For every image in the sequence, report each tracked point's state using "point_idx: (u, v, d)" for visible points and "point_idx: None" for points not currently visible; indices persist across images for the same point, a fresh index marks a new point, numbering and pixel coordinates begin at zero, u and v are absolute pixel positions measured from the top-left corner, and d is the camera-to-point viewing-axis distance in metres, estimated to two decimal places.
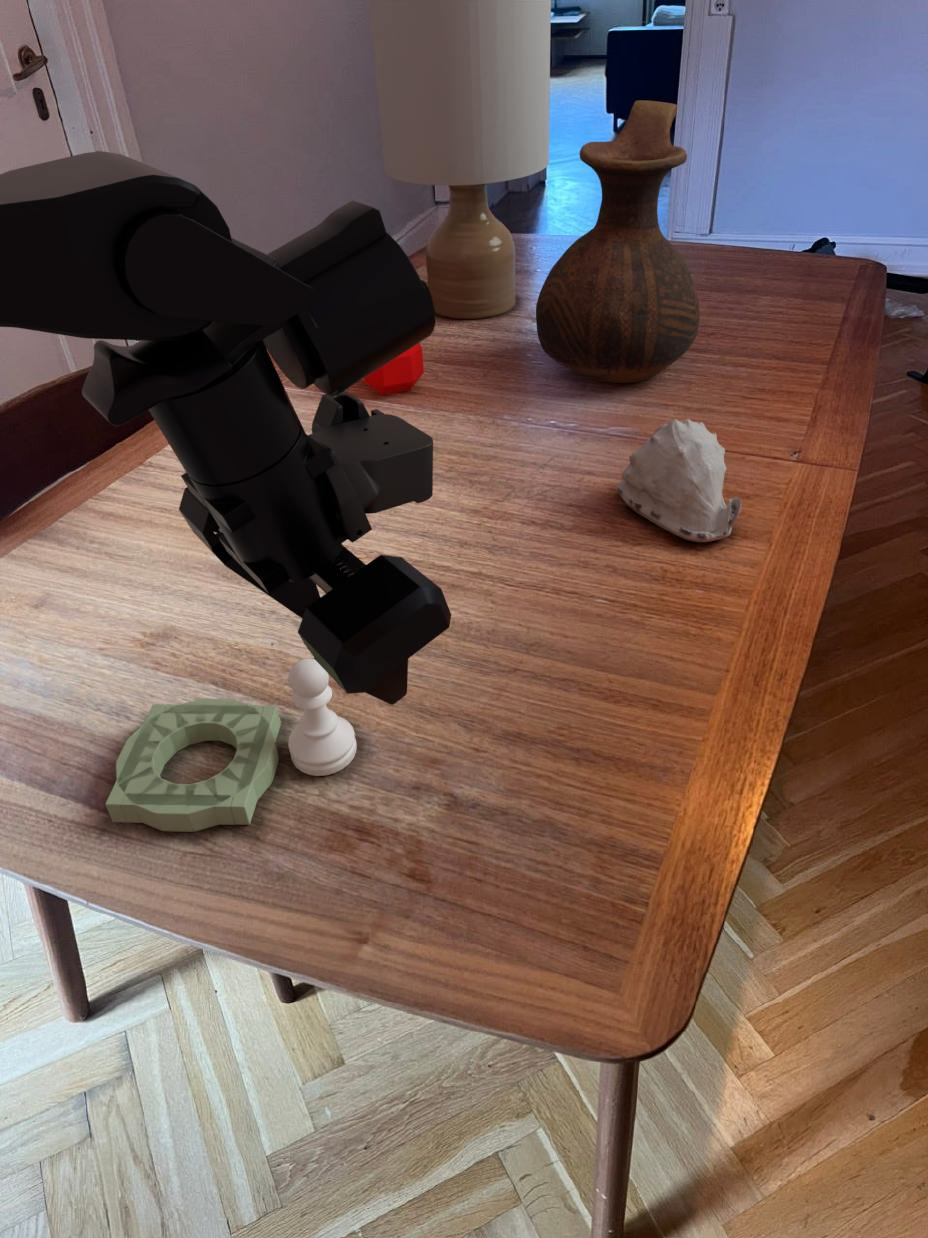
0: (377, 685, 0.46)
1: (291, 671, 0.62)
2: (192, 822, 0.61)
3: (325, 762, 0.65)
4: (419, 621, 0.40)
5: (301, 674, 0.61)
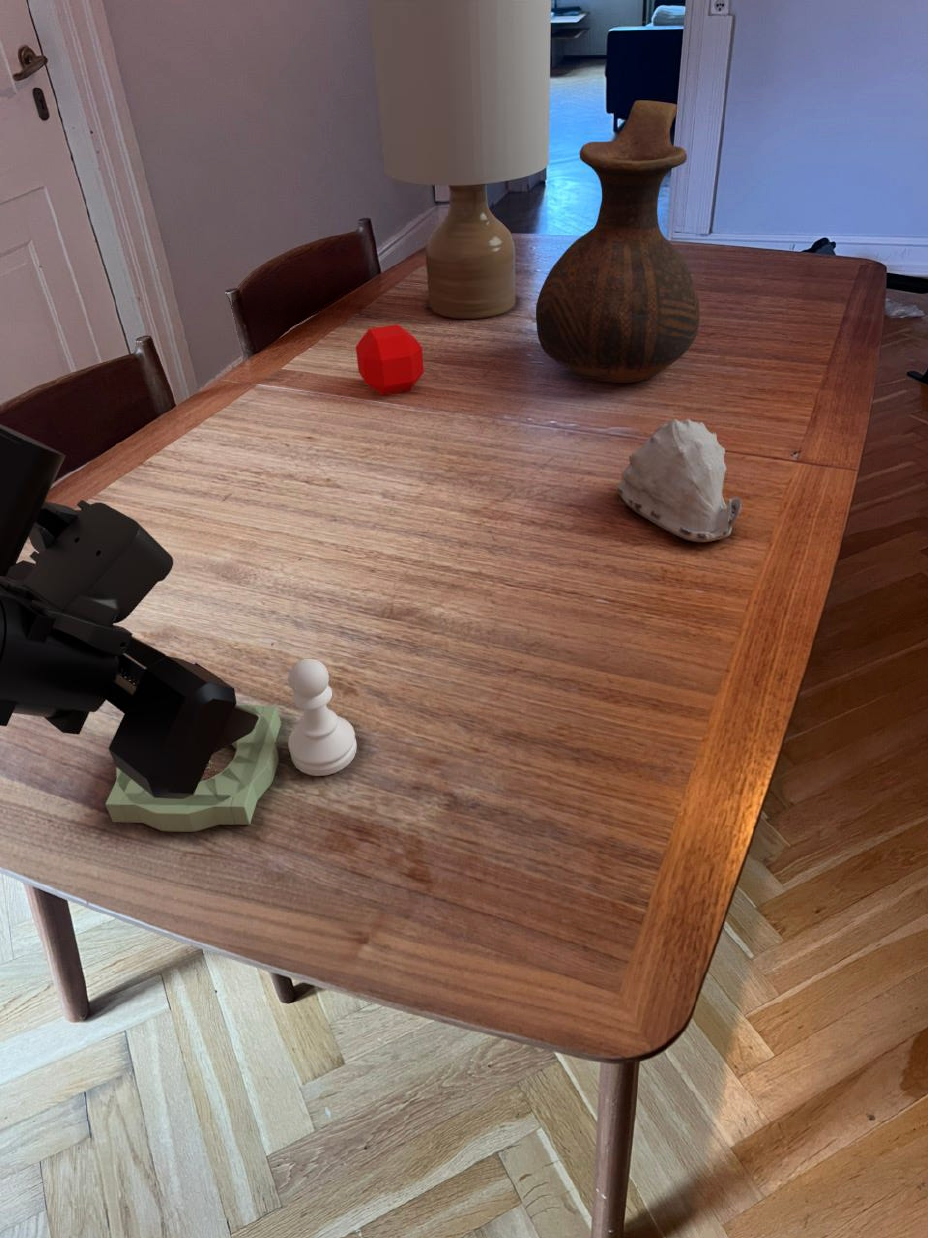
0: (221, 741, 0.49)
1: (291, 671, 0.62)
2: (192, 822, 0.61)
3: (325, 762, 0.65)
4: (203, 721, 0.43)
5: (301, 674, 0.61)
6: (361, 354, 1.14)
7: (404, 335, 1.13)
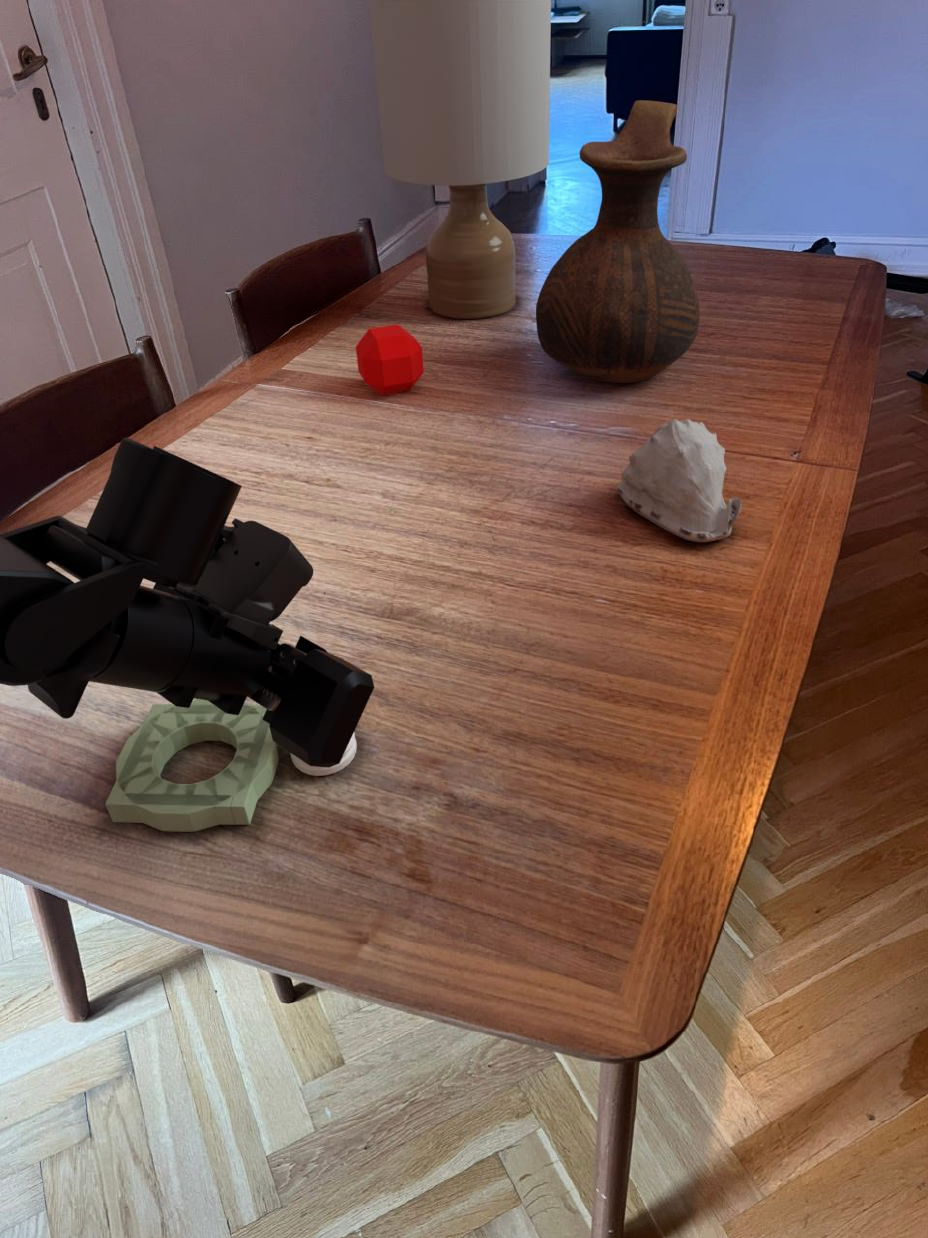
0: None
1: None
2: (192, 822, 0.61)
3: None
4: (350, 703, 0.52)
5: None
6: (361, 354, 1.14)
7: (404, 335, 1.13)
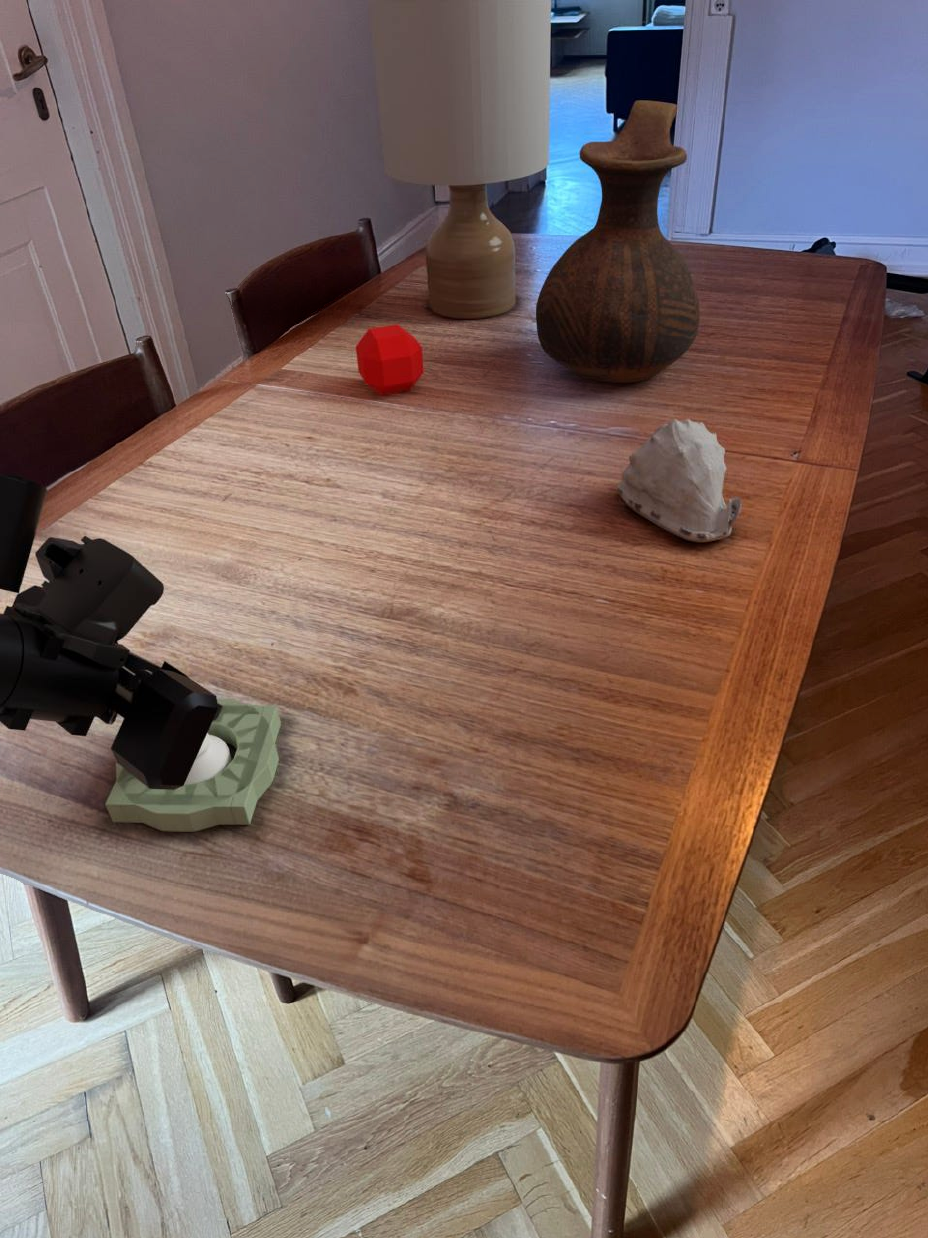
0: None
1: None
2: (192, 822, 0.61)
3: None
4: (190, 725, 0.51)
5: None
6: (361, 354, 1.14)
7: (404, 335, 1.13)
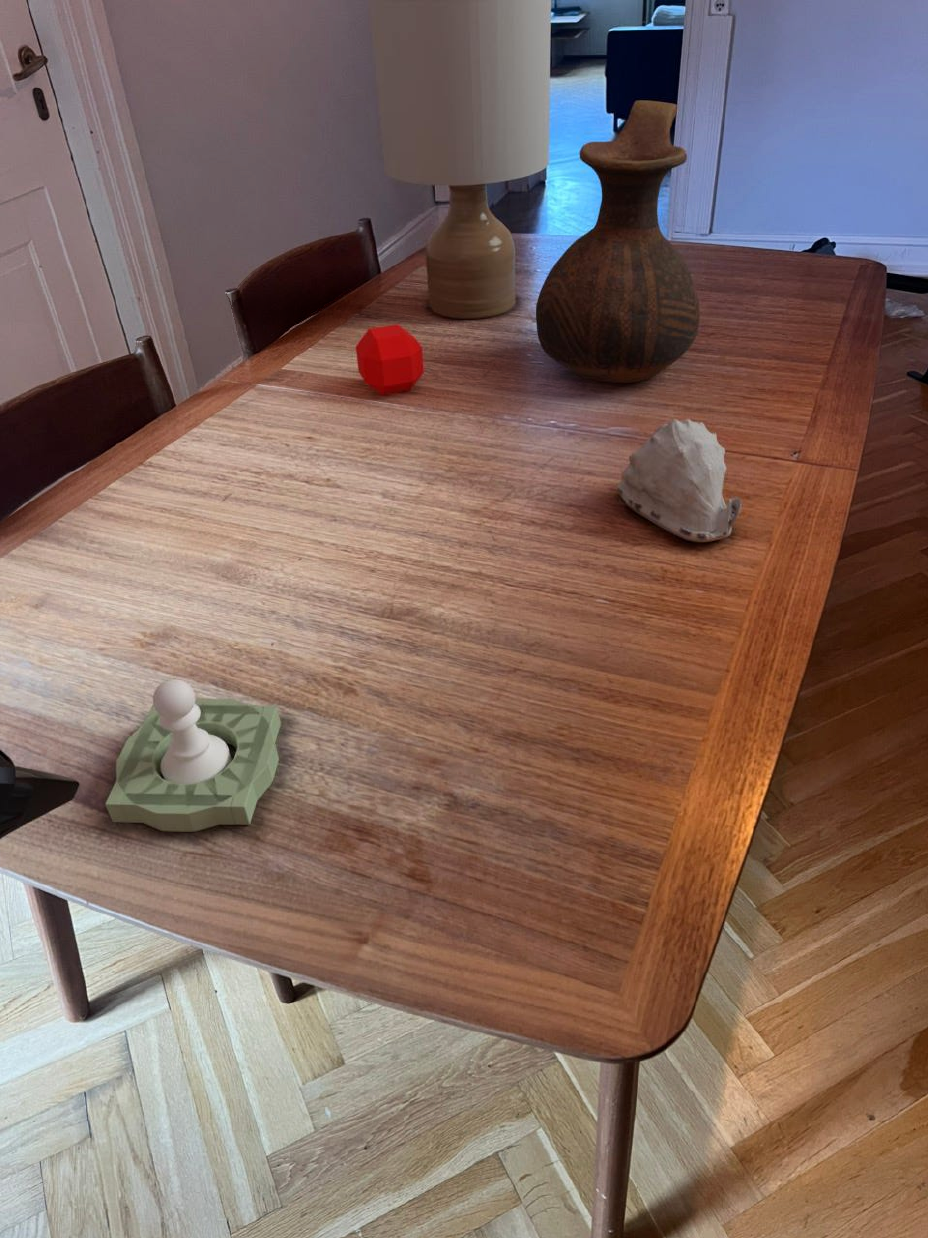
0: (27, 814, 0.46)
1: (155, 692, 0.61)
2: (192, 822, 0.61)
3: None
4: None
5: (163, 696, 0.60)
6: (361, 354, 1.14)
7: (404, 335, 1.13)
